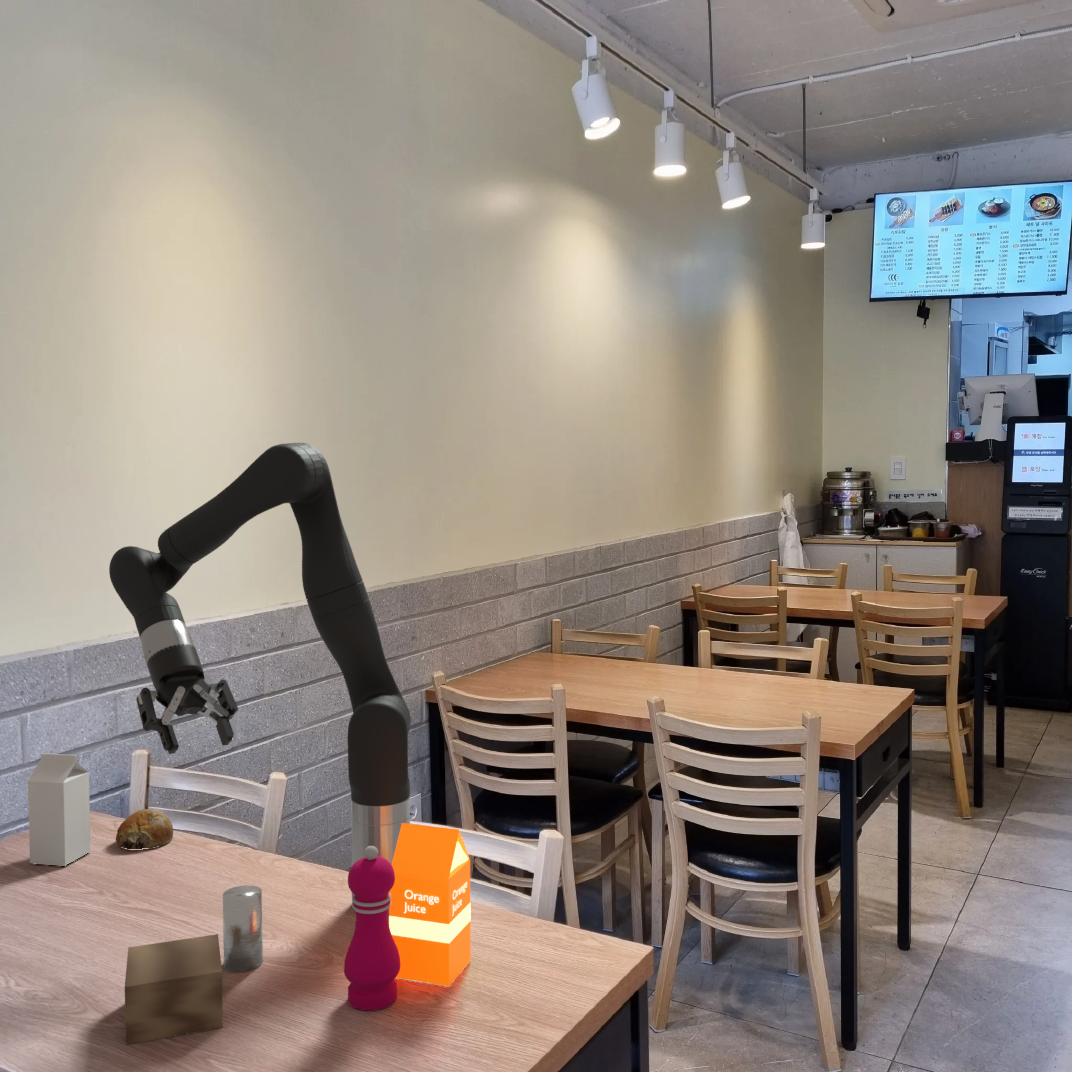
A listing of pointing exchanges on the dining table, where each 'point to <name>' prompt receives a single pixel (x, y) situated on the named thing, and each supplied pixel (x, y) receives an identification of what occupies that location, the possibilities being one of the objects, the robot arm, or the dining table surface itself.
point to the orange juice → (431, 903)
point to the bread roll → (145, 830)
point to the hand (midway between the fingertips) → (201, 746)
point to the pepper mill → (371, 935)
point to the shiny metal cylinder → (242, 928)
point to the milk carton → (58, 810)
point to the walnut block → (173, 988)
